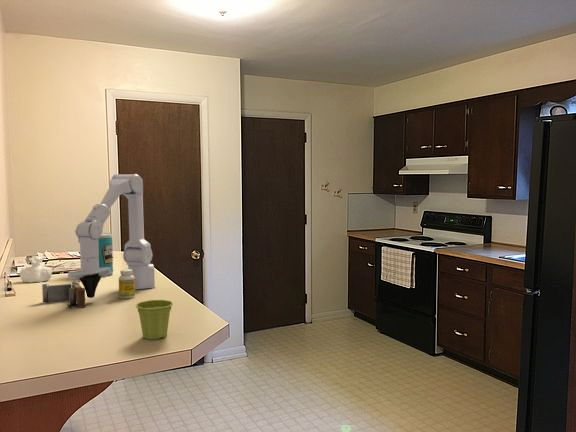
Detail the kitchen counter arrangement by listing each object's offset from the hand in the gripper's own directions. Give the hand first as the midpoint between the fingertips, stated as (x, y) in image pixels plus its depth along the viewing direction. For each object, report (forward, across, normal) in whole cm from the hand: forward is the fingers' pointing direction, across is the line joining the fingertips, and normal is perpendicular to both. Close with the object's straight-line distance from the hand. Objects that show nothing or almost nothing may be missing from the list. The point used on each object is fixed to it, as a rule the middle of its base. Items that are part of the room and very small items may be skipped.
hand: (90, 297), depth 161 cm
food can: (+2, -30, -42) cm, 52 cm away
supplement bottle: (+2, -12, +3) cm, 13 cm away
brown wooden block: (+2, +3, -2) cm, 4 cm away
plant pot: (+2, +10, +46) cm, 47 cm away
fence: (+2, +4, -11) cm, 12 cm away
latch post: (+2, +7, 0) cm, 7 cm away
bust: (+2, -7, -50) cm, 51 cm away
